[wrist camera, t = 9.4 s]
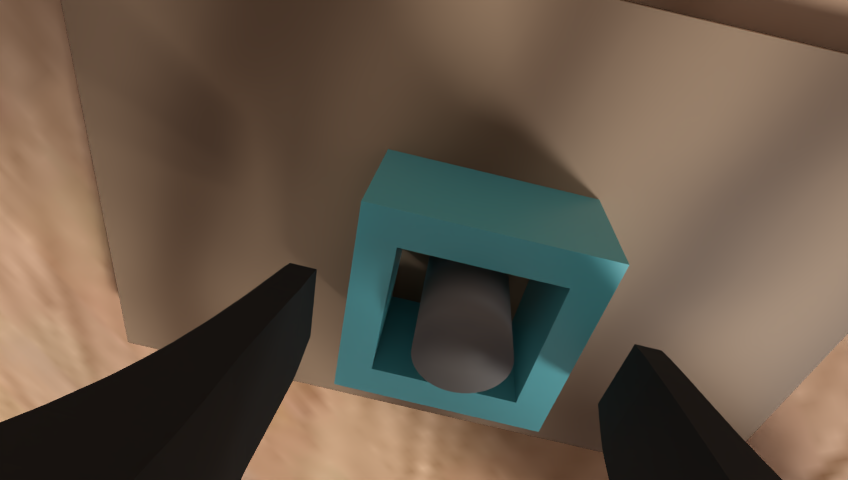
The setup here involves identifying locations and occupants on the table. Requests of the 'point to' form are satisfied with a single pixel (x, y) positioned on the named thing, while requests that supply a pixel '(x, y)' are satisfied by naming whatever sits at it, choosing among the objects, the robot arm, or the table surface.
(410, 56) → the post board
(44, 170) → the table surface
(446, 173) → the collar
